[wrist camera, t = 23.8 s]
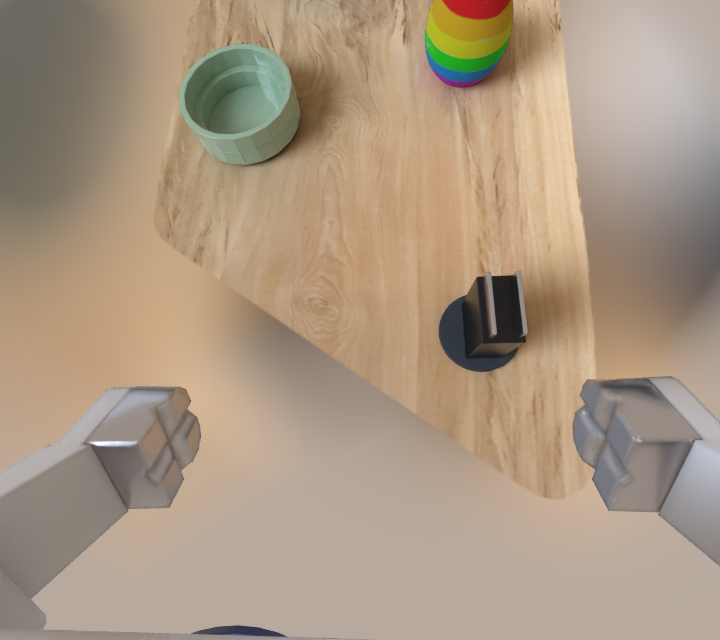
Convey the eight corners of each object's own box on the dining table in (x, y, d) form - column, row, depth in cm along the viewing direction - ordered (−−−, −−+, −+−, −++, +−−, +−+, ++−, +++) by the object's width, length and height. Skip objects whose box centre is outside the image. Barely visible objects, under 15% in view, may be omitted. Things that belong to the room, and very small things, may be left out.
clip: (501, 358, 35) (534, 337, 27) (465, 358, 35) (487, 338, 27) (495, 302, 36) (525, 266, 28) (461, 303, 36) (481, 268, 28)
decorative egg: (418, 95, 43) (425, 0, 33) (426, 34, 45) (435, -73, 35) (497, 100, 42) (528, 3, 32) (502, 37, 44) (533, -72, 34)
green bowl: (293, 170, 42) (281, 141, 37) (190, 165, 43) (167, 136, 39) (308, 81, 45) (298, 44, 40) (211, 79, 46) (192, 42, 41)
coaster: (518, 375, 35) (520, 374, 34) (436, 367, 36) (436, 366, 35) (519, 298, 37) (521, 296, 36) (441, 292, 37) (441, 290, 37)
